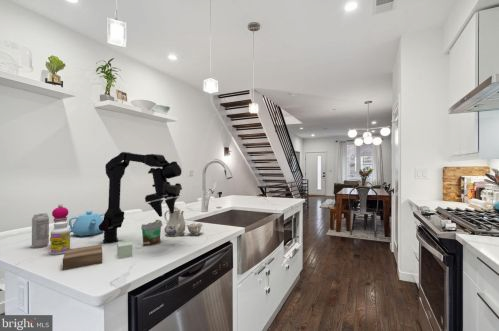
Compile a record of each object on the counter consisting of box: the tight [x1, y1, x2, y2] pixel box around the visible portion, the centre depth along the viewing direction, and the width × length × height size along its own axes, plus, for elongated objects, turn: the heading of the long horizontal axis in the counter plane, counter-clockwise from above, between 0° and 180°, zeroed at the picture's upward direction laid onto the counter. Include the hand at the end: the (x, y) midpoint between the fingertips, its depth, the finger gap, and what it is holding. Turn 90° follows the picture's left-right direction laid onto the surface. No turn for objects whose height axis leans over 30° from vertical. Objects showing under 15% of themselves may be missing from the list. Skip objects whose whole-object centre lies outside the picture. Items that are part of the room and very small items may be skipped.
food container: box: [140, 219, 163, 247], centre depth 117 cm, size 12×6×10 cm, turn 168°
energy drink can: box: [31, 212, 50, 249], centre depth 113 cm, size 6×6×15 cm
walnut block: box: [62, 244, 103, 271], centre depth 94 cm, size 12×12×4 cm
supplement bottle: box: [50, 221, 71, 256], centre depth 104 cm, size 7×7×13 cm
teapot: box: [68, 210, 105, 237], centre depth 133 cm, size 20×20×13 cm
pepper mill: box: [49, 203, 69, 242], centre depth 111 cm, size 7×7×20 cm
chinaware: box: [163, 204, 204, 238], centre depth 135 cm, size 28×17×17 cm, turn 58°
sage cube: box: [117, 241, 133, 260], centre depth 99 cm, size 5×5×5 cm
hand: (166, 214), depth 109 cm, fingers open, 9 cm apart
